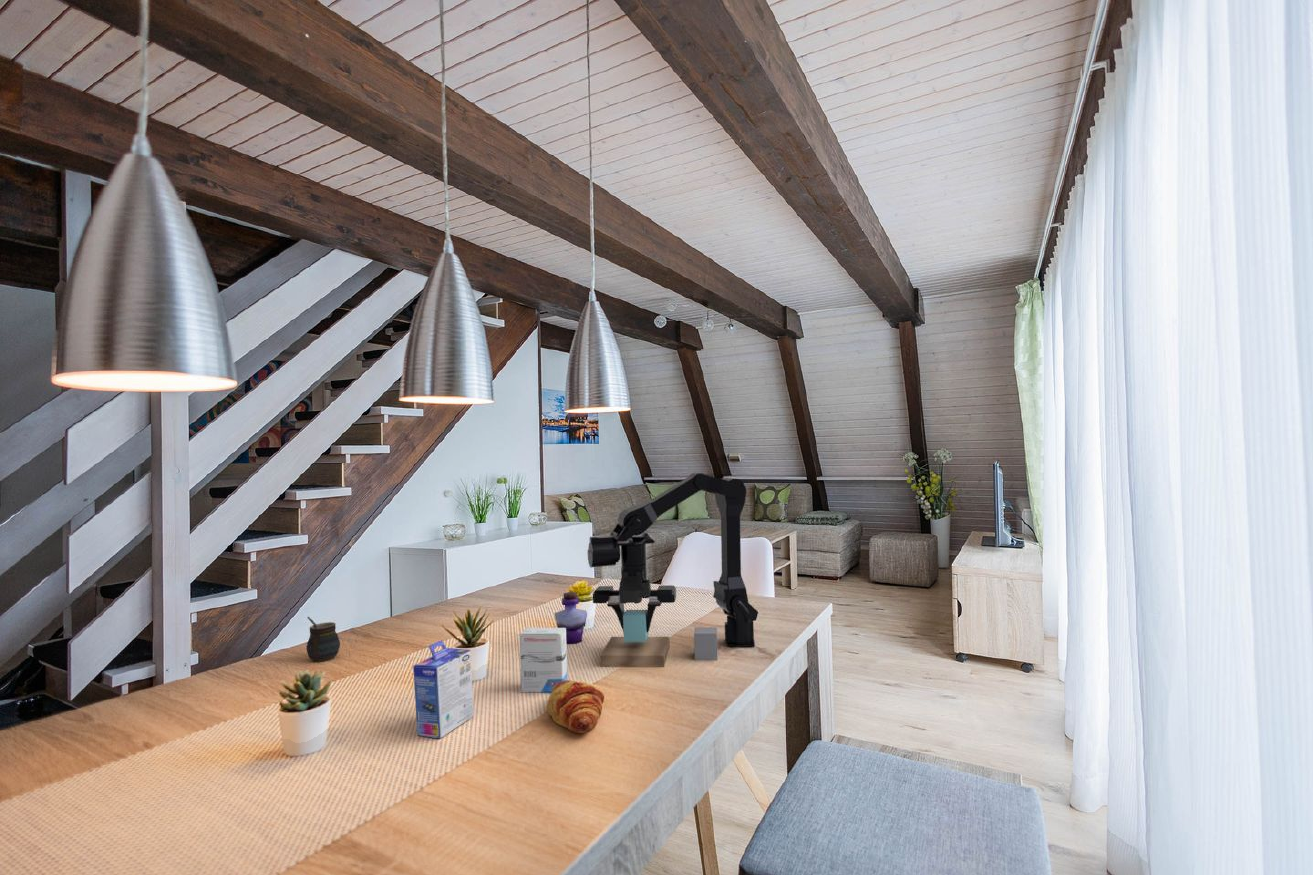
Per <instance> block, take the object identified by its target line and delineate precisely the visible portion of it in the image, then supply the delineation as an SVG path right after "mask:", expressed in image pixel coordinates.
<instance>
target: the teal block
mask: <svg viewBox="0 0 1313 875" xmlns="http://www.w3.org/2000/svg"><path fill="white" fill-rule="evenodd" d="M624 611H625V613H624V615H623V630H622V632H623V631H624V632H623V637H624V642H646V640H647V638H648V637H649V632H647V630H646V623H647V611H648V609H625V610H624Z"/></svg>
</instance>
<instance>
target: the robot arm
mask: <svg viewBox="0 0 1313 875" xmlns="http://www.w3.org/2000/svg"><path fill="white" fill-rule="evenodd" d="M700 491H703V492H706V493H710V494H712V495H713V494H714V498H715V504H716V506H717V508H718V511H719V514H720V533H721V534H720V539H721V543H720V544H721V574H720V578H719V580H713V590H714V592H713V595H712V597H713V598H714V599H715V603H716V605H717V606H719V607H720V609H722V611H723V614H724V615H726V621H725V622H724V642H725V643H726V646H727V647H735V648H737V647H739V648H740V647H742V648H743V647H745V648H746V647H749V648H750V647H751V648H752V647H753V648H754V647H756V643H755V642H756V641H755V633H754V632H755V631H754V630H755V629H754V621H757V619H758V618H757V617H758V616H759V615H758V614H759V612H758V610H757V609H756V608H754V607H753V606H752V605H751V604H750V602H749V597H748V593H747V592H748V591H747V587H746V584H745V582H744V579H743V576H742V561H741V558H742V556H741V555H742V553H741V552H742V551H741V547H742V546H741V542H742V541H741V514H742V512H743V509H744V507H745V505H746V500H747V499H746V498H747V486H746V484H745V483H744V482H743V481H742V480H740V479H738V478H731V477H730V478H729V477H722V478H718V477H714V476H711V475H709V474H708V475H707V474H706V473H703V472H692V473H690V474H689V476H687V477H686V478H684V479H682V480H681V481H679V482H678V483H676V484H674V485H673V486H670V487H669V488H668V489H666V490H664V491H663V492H662V493H659V494H658V495H657V496H655V497H653V498H651V499H650V500H647V501H644V502H641V503H638V504H634V505H632V506H630V507H627V508H624V509H623V510H622V511H621V512H620V513H619V515H618V518H617V523H616V525H615V526H614V527H613V529H612V530H611V532H610V534H609V535H607V536H589V543H588V549H587V561H588V562H587V563H588V565H589V568H598V567H600V568H602V567H612V566H613V567H614V566H616V564H617V563H619V561H620V560H621V563H620V564H621V565H620V566H621V578H620V582H619V587H618V589H614V586H613V585H599V586H597V588H595V589H594V591H592V603H593V604H606V605H607V607H610V608H611V609H612V610H613V611H614V613H615V614H616V617H617V619H618V622H619V624H620V627H621V630H622V633H624V631H623V615H624V613H625V611H626V610H625V604H627V603H628V604H636V605H637V604H641V603H642V601H643V599H648V600H649V601H648V603H647V610H648V611H647V623H646V630H647V632H648V633H649V631H650V628H651V625H652V620H653V618H654V614H655V611H656V608H657V607H661V606H662V604H663V603H664V604H668V603H669V604H671V603H672V604H673V603H675V602H676V599H677V588H676V587H675V585H674V584H673V585H670V584H669V585H658V587H657V589H652V587H651V585H652V584H651V580H650V579H647V578H648V576H647V575H648V574H647V573H648V572H647V548H646V546H647V545H648V544H654V543H655V540H654V539H653V538H652V537H650V534H648V533H647V532H646V531H647V530H648V529H650V527H651V526H653V525H654V524H655V522H656V521H657V520H658V518H660V517H661V516H662V515H663V514H665V513H667V512H668V511H669V510H671V509H673V508H674V507H676V506H677V505H679V504H680V503H682V502H684V501H685V500H687V499H689V498H690V497H692V496H693V495H695V494H697V493H698V492H700Z"/></svg>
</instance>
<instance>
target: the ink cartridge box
mask: <svg viewBox="0 0 1313 875" xmlns="http://www.w3.org/2000/svg"><path fill="white" fill-rule="evenodd" d="M437 647H442V649H440V650H438V651H435V649H437ZM428 648H429V649H430V650H429V651H430V653H431V656H430V657H428V658H426V659H424V660H422V661H421V662H418V663H417V664H414V665H413V666H412V668H413V681H414V683H413V684H414V685H413V686H414V699H415V700H414V701H415V718H416V734H417V736H420V737H427V738H433V739H441V738H444V737H445V736H446V735H448V734H449V733H450V732H452V731H453V730H455V729H457V728H459V726H461V725H463V724H464V723H465V722H467V721H469V720H470V719H471V718H473V717H474V716H475V712H474V692H473V691H474V690H473V675H472V672H473V671H472V653H471V652H472V650H470V649H463V648H456V647H455V648H453V647H452V648H451V647H450V648H447V647H446V645H445V643H444V641H443V640H439V641H437V642H435V643H432V644H430V645H429V646H428Z"/></svg>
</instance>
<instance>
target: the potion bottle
mask: <svg viewBox="0 0 1313 875" xmlns="http://www.w3.org/2000/svg"><path fill="white" fill-rule="evenodd" d="M562 595H563V597H562V598H561V604H562V606H564V609H561V610H559V611H557V612H556V611H555V612H554V613H553V614H554V618H555V622H556V626H557V627H556V628H566V645H577V644H579V643H581V642H583V634H584V627H586V623H587V619H588V613H587V610H586V609H579V608H577V605H578V604H580V600H579V599H580V598H579V596H578V594H577V592H574V591H569V592H565V593H564V592H563V594H562Z"/></svg>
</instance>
